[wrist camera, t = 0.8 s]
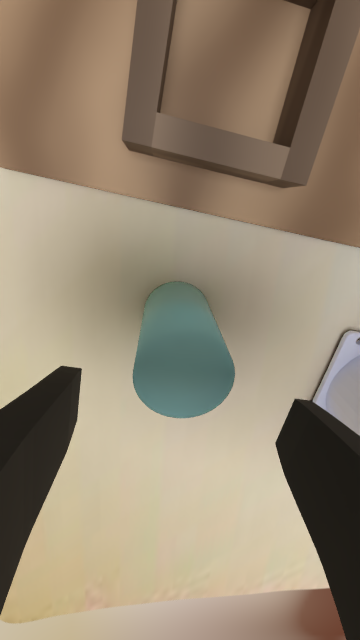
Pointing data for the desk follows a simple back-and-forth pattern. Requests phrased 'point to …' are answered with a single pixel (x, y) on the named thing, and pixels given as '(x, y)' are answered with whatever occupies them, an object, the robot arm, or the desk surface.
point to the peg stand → (191, 105)
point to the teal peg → (181, 354)
